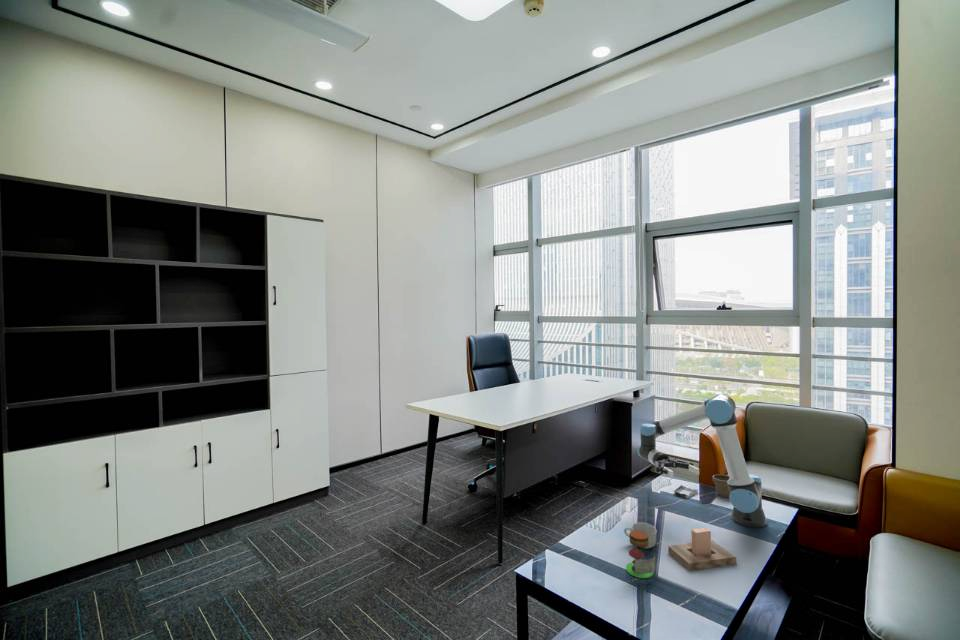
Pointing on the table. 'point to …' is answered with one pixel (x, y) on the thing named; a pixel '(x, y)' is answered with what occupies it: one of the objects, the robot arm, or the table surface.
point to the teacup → (645, 528)
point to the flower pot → (721, 485)
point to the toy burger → (640, 556)
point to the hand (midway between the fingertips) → (685, 473)
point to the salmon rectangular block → (701, 541)
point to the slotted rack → (693, 562)
